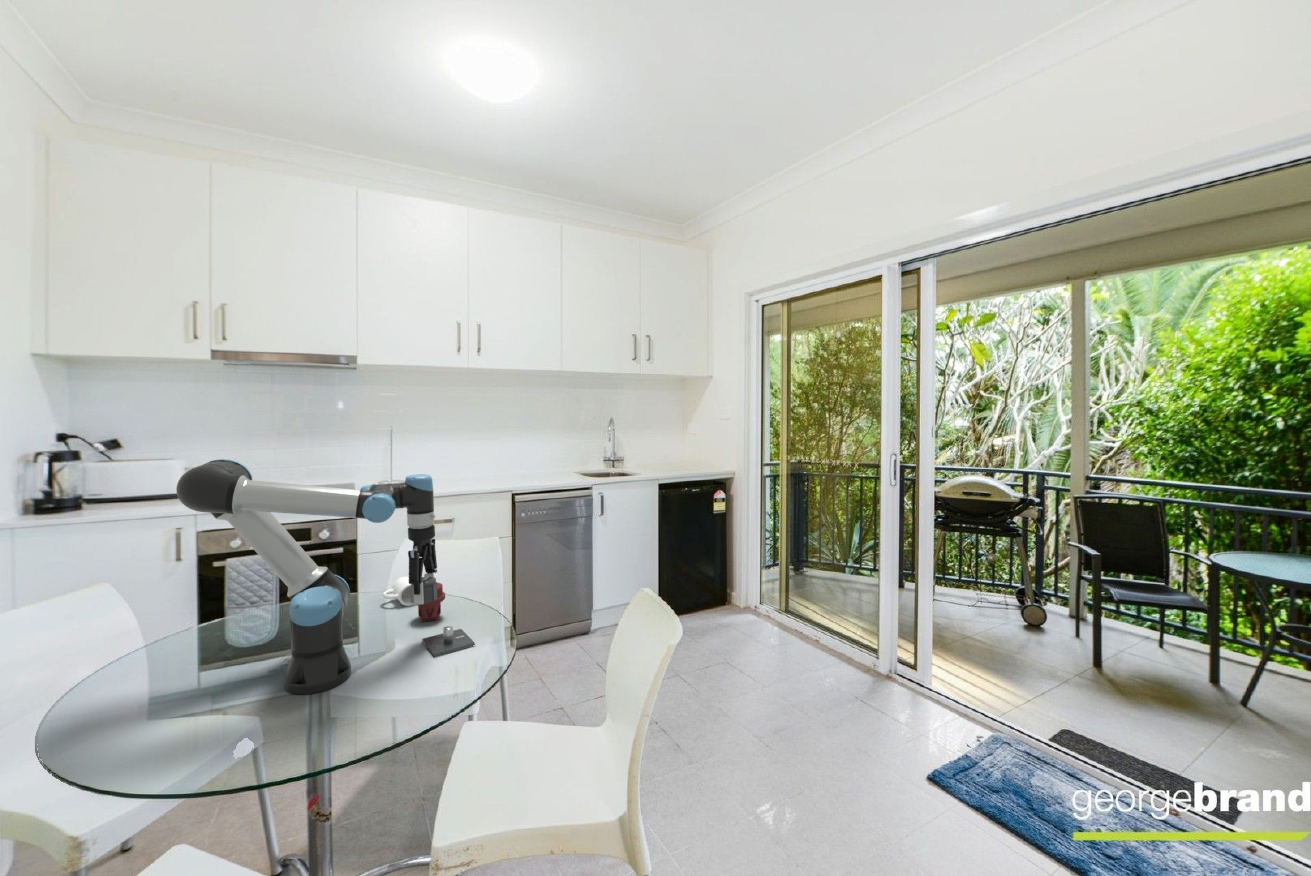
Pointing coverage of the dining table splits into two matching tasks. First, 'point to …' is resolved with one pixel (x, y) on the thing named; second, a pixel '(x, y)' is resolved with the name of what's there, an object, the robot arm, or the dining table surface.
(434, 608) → the mechanical component
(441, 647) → the metal plate
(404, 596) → the mug
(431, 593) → the knob
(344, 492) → the robot arm
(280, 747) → the dining table surface
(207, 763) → the dining table surface
